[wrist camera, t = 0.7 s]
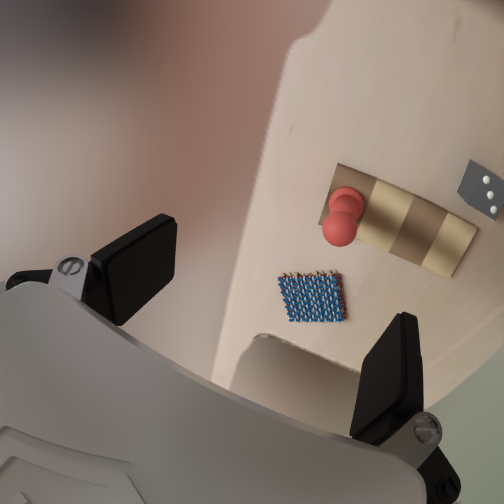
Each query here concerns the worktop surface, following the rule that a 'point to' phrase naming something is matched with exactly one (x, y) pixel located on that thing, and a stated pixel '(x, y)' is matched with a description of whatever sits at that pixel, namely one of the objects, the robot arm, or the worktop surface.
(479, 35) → the worktop surface
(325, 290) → the woven mat
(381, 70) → the worktop surface
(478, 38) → the worktop surface
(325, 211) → the board
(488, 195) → the die
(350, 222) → the pawn
